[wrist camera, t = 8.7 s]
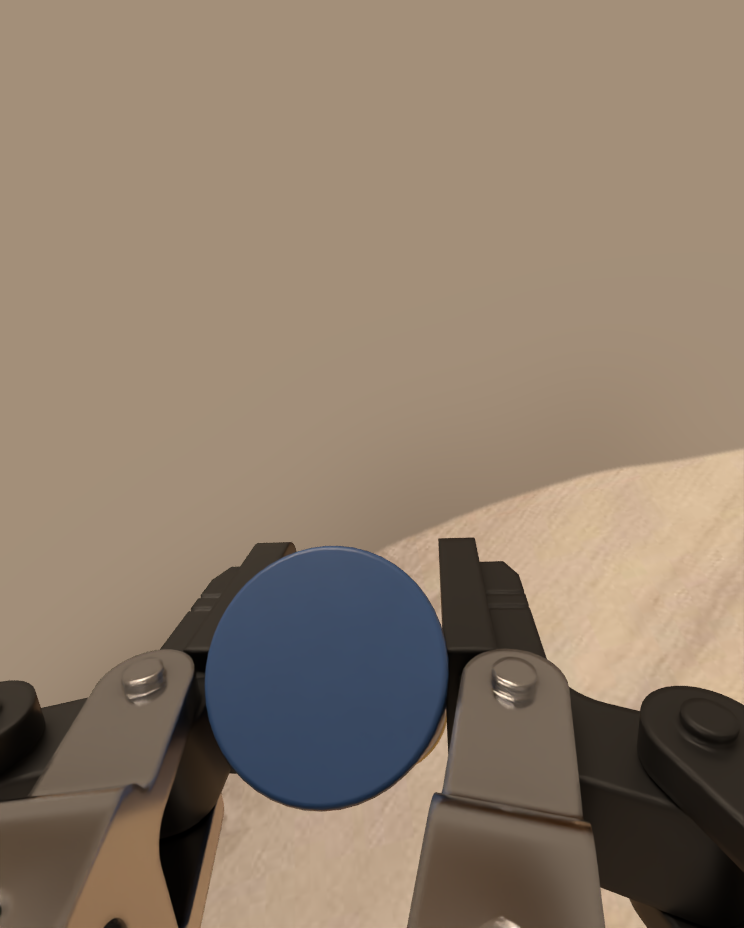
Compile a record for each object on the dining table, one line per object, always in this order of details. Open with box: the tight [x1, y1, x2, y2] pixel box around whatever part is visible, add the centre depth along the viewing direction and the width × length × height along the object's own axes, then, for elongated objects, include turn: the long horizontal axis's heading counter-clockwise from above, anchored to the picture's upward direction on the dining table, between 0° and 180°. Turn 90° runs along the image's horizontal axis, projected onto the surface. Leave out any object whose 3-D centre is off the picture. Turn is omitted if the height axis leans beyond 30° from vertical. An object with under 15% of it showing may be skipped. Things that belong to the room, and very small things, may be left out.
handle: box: [205, 546, 449, 811], centre depth 10 cm, size 3×3×8 cm
